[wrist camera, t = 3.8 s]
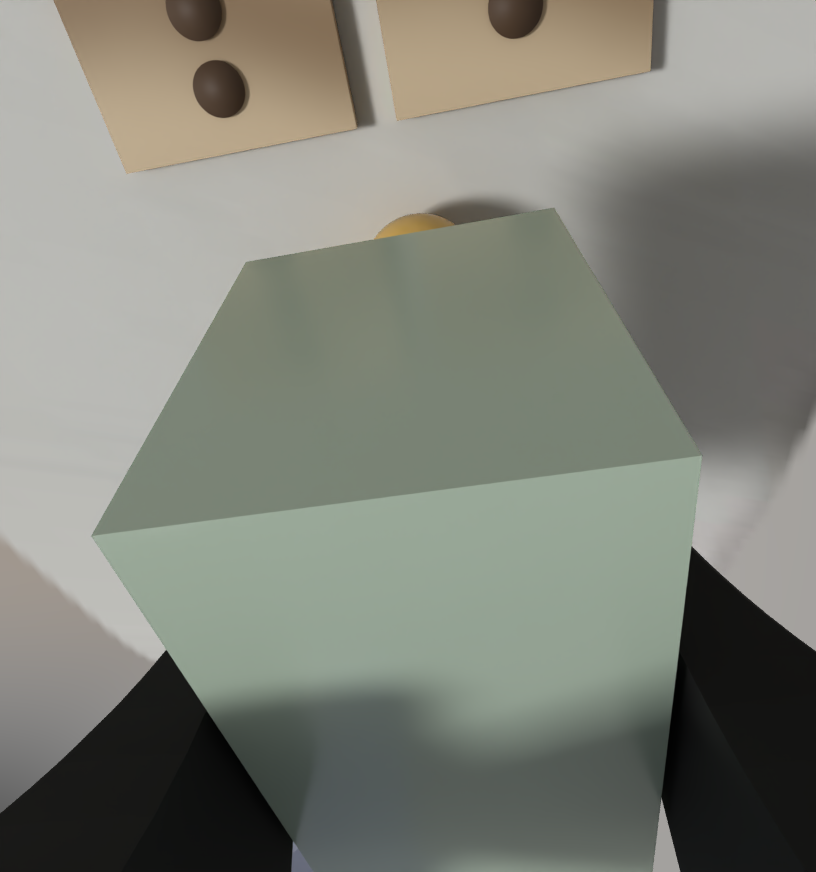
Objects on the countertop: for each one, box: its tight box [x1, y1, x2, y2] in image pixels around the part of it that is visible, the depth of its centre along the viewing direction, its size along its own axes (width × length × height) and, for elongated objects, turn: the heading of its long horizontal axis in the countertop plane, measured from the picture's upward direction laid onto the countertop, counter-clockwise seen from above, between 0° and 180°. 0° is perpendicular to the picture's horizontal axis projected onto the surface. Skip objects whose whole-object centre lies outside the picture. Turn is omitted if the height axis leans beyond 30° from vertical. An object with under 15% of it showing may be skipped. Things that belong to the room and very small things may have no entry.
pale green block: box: [92, 208, 702, 872], centre depth 11 cm, size 10×5×6 cm, turn 10°
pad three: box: [54, 0, 358, 174], centre depth 14 cm, size 6×6×1 cm
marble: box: [374, 213, 455, 239], centre depth 17 cm, size 3×3×3 cm
